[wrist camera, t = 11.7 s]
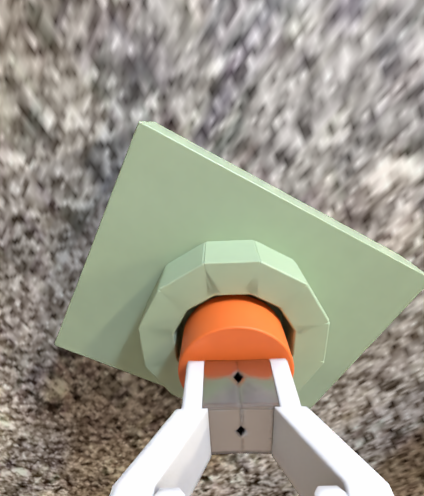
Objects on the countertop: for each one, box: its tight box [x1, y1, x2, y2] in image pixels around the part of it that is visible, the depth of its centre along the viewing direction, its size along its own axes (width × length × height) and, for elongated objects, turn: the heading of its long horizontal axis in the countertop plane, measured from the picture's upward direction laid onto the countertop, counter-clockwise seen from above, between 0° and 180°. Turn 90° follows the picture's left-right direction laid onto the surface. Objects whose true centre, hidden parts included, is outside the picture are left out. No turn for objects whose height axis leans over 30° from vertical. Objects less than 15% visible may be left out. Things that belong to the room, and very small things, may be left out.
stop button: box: [178, 295, 294, 389], centre depth 10 cm, size 4×4×2 cm
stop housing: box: [54, 121, 424, 409], centre depth 12 cm, size 12×10×4 cm
